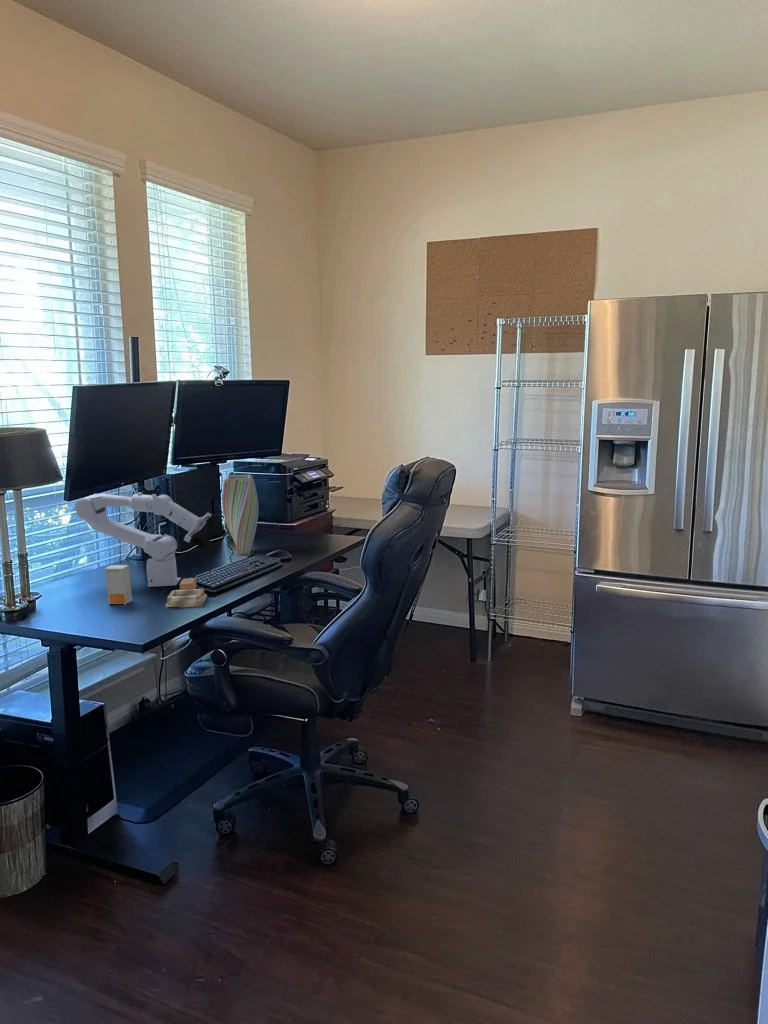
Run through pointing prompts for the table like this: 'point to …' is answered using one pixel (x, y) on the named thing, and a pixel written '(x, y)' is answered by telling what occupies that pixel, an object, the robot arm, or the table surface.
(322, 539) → the table surface
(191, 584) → the keyed block
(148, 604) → the table surface
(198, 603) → the stand
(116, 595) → the skincare box
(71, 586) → the table surface
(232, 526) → the vase
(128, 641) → the table surface
